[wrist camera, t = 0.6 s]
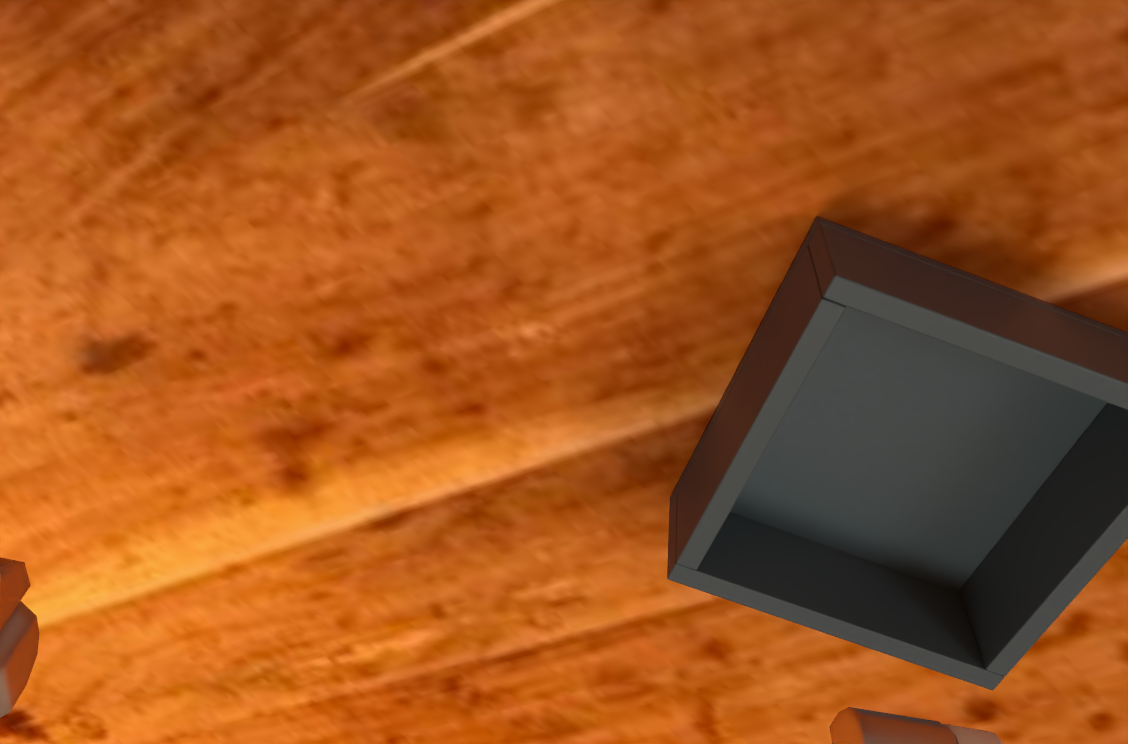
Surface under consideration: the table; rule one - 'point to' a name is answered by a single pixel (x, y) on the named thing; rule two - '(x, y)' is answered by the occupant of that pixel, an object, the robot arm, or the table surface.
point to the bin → (910, 460)
